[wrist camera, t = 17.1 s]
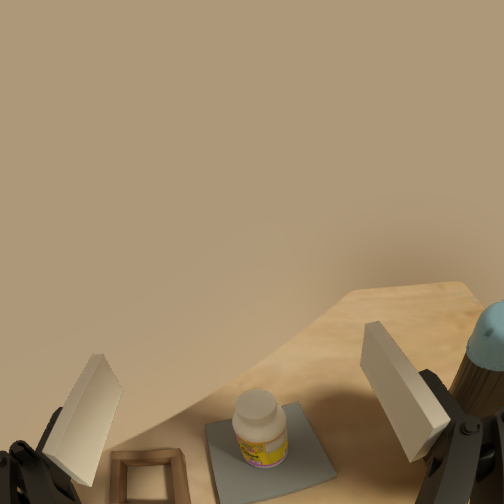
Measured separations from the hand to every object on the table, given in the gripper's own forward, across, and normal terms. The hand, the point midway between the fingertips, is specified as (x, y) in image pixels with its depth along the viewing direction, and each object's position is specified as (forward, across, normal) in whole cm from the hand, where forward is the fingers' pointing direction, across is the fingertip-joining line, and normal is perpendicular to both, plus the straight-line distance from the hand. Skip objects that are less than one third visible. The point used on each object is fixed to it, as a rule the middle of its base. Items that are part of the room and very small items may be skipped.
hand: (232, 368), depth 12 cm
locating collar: (+5, -17, -30) cm, 35 cm away
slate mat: (+11, 0, -30) cm, 32 cm away
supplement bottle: (+11, 0, -29) cm, 31 cm away
